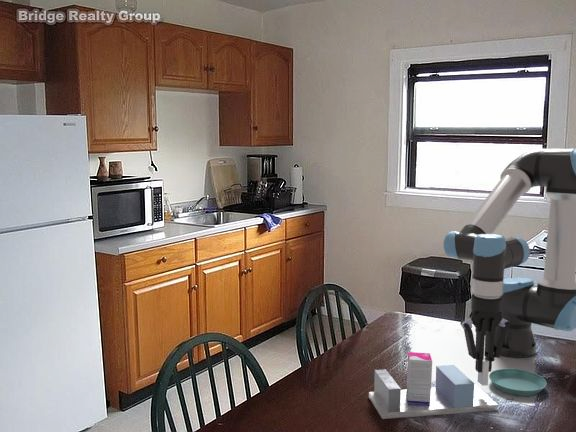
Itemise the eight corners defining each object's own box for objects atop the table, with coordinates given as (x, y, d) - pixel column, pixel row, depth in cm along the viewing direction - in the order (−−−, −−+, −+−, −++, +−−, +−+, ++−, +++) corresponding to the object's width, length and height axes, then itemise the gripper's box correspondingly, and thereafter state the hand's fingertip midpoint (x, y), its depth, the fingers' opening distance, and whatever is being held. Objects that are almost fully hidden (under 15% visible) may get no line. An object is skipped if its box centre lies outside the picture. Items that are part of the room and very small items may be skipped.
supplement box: (431, 404, 146) (432, 360, 145) (407, 403, 147) (408, 359, 146) (428, 394, 152) (430, 352, 150) (405, 393, 153) (406, 351, 151)
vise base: (475, 389, 158) (476, 363, 157) (497, 410, 146) (498, 381, 145) (368, 397, 154) (369, 370, 153) (382, 418, 142) (382, 389, 141)
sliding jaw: (453, 386, 157) (453, 364, 156) (473, 406, 145) (474, 383, 144) (435, 387, 156) (436, 365, 155) (454, 407, 144) (455, 384, 144)
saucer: (503, 372, 170) (503, 364, 170) (555, 388, 160) (555, 378, 159) (478, 388, 160) (479, 378, 159) (532, 405, 149) (532, 395, 149)
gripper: (503, 290, 153) (499, 376, 156) (456, 292, 151) (452, 378, 154) (518, 298, 145) (513, 388, 148) (469, 299, 144) (465, 390, 147)
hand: (482, 383), depth 151 cm, fingers closed
